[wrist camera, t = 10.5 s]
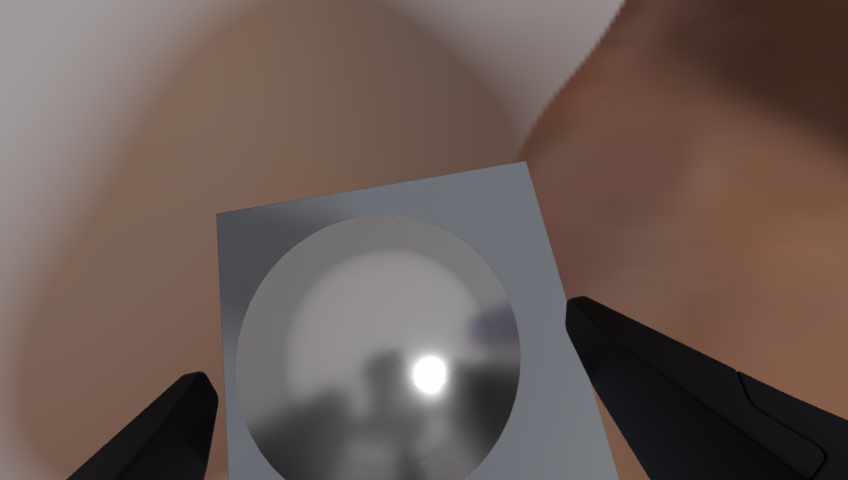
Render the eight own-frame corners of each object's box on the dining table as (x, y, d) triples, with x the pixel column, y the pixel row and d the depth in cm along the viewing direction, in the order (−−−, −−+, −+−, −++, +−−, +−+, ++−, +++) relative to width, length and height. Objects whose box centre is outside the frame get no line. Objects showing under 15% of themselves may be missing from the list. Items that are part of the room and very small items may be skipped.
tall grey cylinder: (447, 398, 18) (520, 524, 5) (354, 391, 18) (205, 501, 5) (452, 304, 19) (520, 224, 6) (365, 298, 19) (264, 206, 6)
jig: (629, 635, 15) (688, 716, 12) (285, 726, 14) (245, 842, 11) (507, 191, 21) (525, 161, 17) (250, 236, 20) (216, 213, 16)
